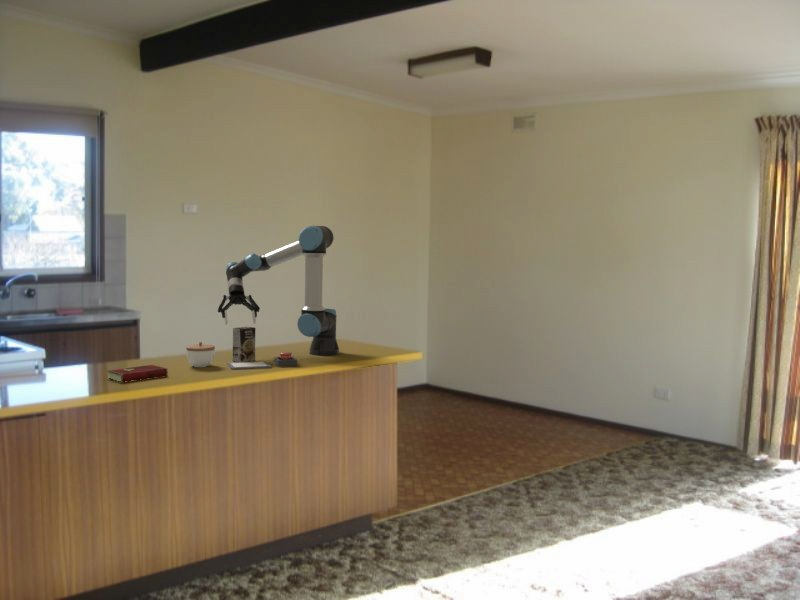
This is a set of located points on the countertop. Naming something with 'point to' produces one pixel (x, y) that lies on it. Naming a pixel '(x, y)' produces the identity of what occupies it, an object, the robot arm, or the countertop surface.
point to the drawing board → (248, 365)
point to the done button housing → (285, 362)
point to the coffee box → (243, 344)
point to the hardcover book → (137, 373)
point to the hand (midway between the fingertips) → (240, 322)
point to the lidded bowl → (200, 354)
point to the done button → (285, 355)
